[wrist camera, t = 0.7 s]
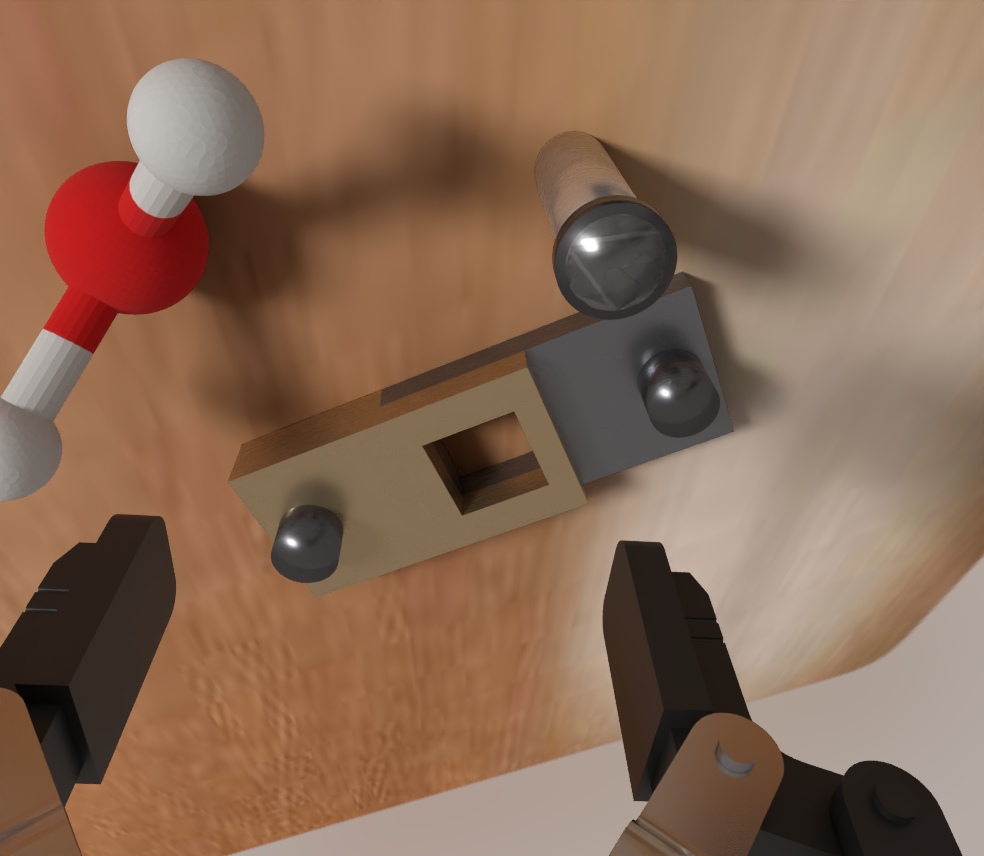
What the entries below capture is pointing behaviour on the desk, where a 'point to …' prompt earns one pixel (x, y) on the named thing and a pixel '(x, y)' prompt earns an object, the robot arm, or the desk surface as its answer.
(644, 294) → the pin
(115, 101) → the desk surface
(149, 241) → the molecular model
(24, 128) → the desk surface
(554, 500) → the two-tone base plate
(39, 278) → the desk surface
